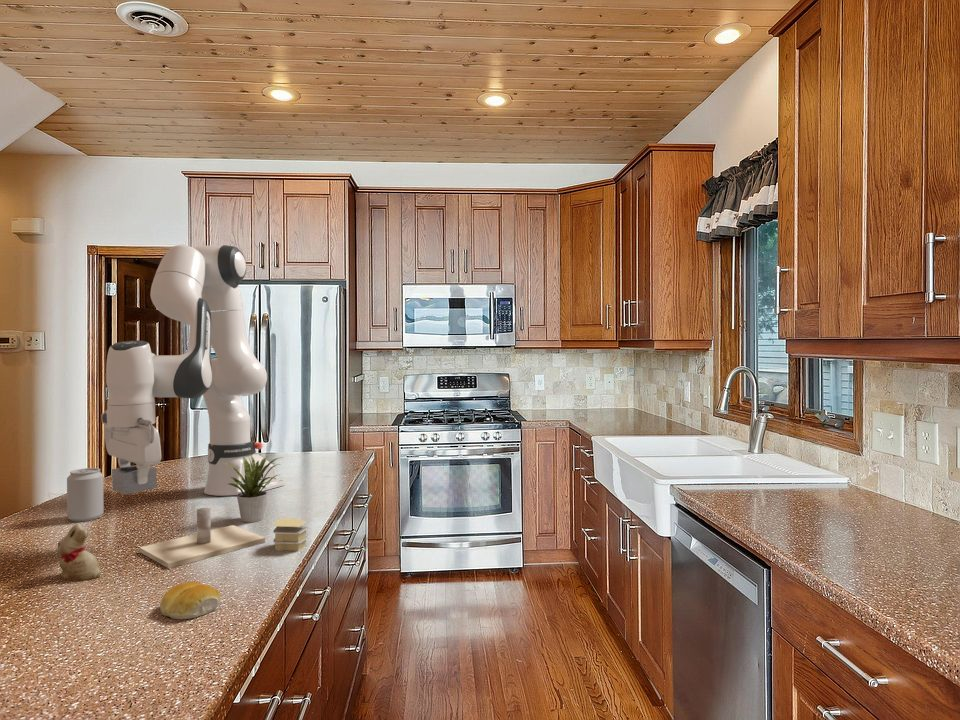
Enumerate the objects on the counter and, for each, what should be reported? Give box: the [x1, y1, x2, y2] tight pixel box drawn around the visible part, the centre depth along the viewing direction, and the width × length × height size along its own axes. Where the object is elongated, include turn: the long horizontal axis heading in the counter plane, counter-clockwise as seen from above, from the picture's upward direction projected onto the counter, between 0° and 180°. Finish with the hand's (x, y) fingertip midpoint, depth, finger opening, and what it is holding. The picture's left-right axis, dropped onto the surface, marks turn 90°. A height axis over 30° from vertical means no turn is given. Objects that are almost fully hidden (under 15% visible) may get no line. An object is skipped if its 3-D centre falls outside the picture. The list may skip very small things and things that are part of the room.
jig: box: [139, 507, 266, 569], centre depth 125 cm, size 20×14×8 cm
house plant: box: [222, 453, 284, 523], centre depth 145 cm, size 14×14×16 cm
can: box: [66, 467, 105, 523], centre depth 145 cm, size 8×8×12 cm
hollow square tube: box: [111, 465, 158, 495], centre depth 127 cm, size 6×6×4 cm
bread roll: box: [159, 581, 222, 620], centre depth 96 cm, size 8×9×4 cm
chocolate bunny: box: [57, 522, 102, 582], centre depth 109 cm, size 6×8×10 cm
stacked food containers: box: [272, 517, 309, 552], centre depth 125 cm, size 10×9×6 cm
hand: (134, 480), depth 127 cm, fingers closed on hollow square tube, 6 cm apart
